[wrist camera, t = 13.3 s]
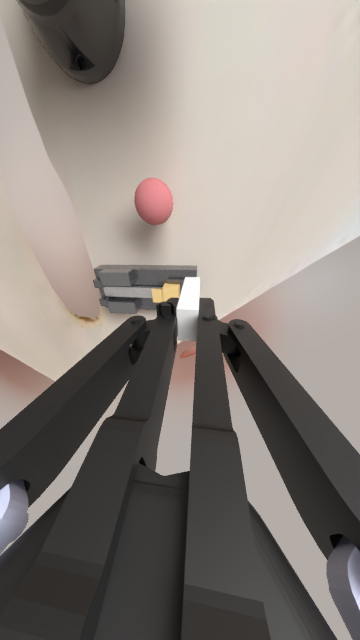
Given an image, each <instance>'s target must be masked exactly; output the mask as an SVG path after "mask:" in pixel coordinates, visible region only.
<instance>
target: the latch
mask: <svg viewBox="0 0 360 640" xmlns="http://www.w3.org/2000/svg"><path fill="white" fill-rule="evenodd" d="M152 297H153V302H156V303H160V302H165V301H167V300H168V299H169V298H180V283H165V284H164V286H163V288H162V289H152Z"/></svg>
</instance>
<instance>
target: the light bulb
mask: <svg viewBox="0 0 360 640" xmlns="http://www.w3.org/2000/svg"><path fill="white" fill-rule="evenodd" d="M135 206H136V209H137V212H138V214H139V215H140V217H141V218H142V219H143V220H144V221H146V222H147V223H149V224H152V225H159V224H162V223H164V222H165V221H166V220H167V219H168V218H169V217H170V215H171V212H172V209H173V198H172V195H171V192H170V190H169V188H168V187H167V185H166V184H165V183H164V182H162V181H161V180H159V179H156V178H148V179H145V180H143V181H142V182H141V183H140V184H139V185H138V187H137V189H136V192H135Z"/></svg>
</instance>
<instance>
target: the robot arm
mask: <svg viewBox="0 0 360 640" xmlns="http://www.w3.org/2000/svg"><path fill="white" fill-rule="evenodd" d="M17 2H18V3H19V5H20V7H21V9H22V11H23V12H24V14H25V16H26V18H27V20H28V21H29V23H30V25H31V27H32V29H33V30H34V32H35V34H36V36H37V37H38V39H39V41H40V42H41V44H42V45H43V47H44V48H45V50H46V51H47V52H48V54H49V55H50V56H51V57H52V58H53V60H54V61H55V62H56V63H57V64H58V65H59V66H60V67H61V68H62V69H63V70H64V71H65V72H66V73H67V74H68V75H70V76H71V77H72V78H74V79H76V80H78V81H80V82H83V83H95V82H98V81H100V80H102V79H103V78H105V77H106V76H107V75H108V74H109V73H110V71H111V70H112V69H113V67H114V65H115V63H116V61H117V59H118V56H119V53H120V50H121V46H122V41H123V35H124V25H125V2H124V0H17ZM199 293H200V277H185V280H184V283H183V287H182V291H181V294H180V298H169V299H168V300H167V301H165V302H160V303H158V304H157V305H156V309H157V318H156V319H154V320H148V321H146V318H145V317H143V316H133V317H130V318H129V319H127V320H126V321H125V322H124V323H123V324H122V325H120V326H119V327H118V328H117V329H116V330H115V331H113V332H112V333H111V334H110V335H109V336H108V337H107V338H105V339H104V340H103V341H102V342H101V343H100V344H98V345H97V346H96V347H95V348H94V349H93V350H92V351H90V352H89V353H88V354H87V355H86V356H85V357H83V358H82V359H81V360H80V361H79V362H78V363H76V364H75V365H74V366H73V367H72V368H71V369H70V370H68V371H67V372H66V373H65V374H64V375H63V376H61V377H60V378H59V379H58V380H57V381H56V382H55V383H53V384H52V385H51V386H50V387H49V388H48V389H46V390H45V391H44V392H43V393H42V394H41V395H40V396H38V397H37V398H36V399H35V400H34V401H33V402H32V403H30V404H29V405H28V406H27V407H26V408H24V409H23V410H22V411H21V412H20V413H19V414H18V415H16V416H15V417H14V418H13V419H12V420H11V421H9V422H8V423H7V424H6V425H5V426H4V427H3V428H1V429H0V554H1V553H2V551H3V550H4V549H5V547H6V546H7V545H8V544H9V543H10V542H12V541H14V540H15V539H16V538H17V537H18V536H19V535H20V534H21V533H22V532H23V530H24V528H25V527H26V525H27V522H28V513H27V510H28V507H29V506H30V505H32V503H34V502H35V501H36V499H37V498H39V497H40V495H41V494H42V493H43V492H44V491H45V490H46V488H48V486H49V485H50V484H51V483H52V482H53V481H54V480H55V478H56V477H57V476H58V475H59V473H60V472H61V471H62V470H63V468H64V467H65V466H66V464H67V463H68V462H69V460H70V459H71V458H72V456H73V455H74V454H75V452H76V451H77V449H78V448H79V447H80V445H81V444H82V443H83V441H84V440H85V438H86V437H87V436H88V434H89V433H90V432H91V430H92V429H93V428H94V426H95V425H96V424H97V422H98V421H99V419H100V418H101V417H102V415H103V414H104V413H105V411H106V410H107V408H108V407H109V406H110V404H111V403H112V402H113V400H114V399H115V398H116V396H117V395H118V393H119V392H120V391H121V389H122V388H123V387H124V385H125V384H126V383H127V381H128V380H129V382H128V384H127V386H126V388H125V391H124V393H123V395H122V397H121V400H120V402H119V405H118V406H117V409H116V411H115V413H114V414H113V415H112V416H110V417H108V418H106V419H105V420H104V422H103V423H102V425H101V426H100V428H99V430H98V433H97V434H96V437H95V439H94V441H93V443H92V445H91V447H90V449H89V451H88V453H87V456H86V457H85V460H84V462H83V464H82V466H81V468H80V470H79V472H78V474H77V477H76V479H75V480H74V483H73V485H72V487H71V488H70V489H69V490H68V491H67V492H66V493H65V494H64V495H63V496H62V497H61V498H60V499H58V500H57V501H56V502H55V503H54V504H53V505H52V506H51V507H50V508H49V509H48V510H47V511H46V512H45V513H44V514H43V515H42V516H41V517H40V518H39V519H38V520H37V521H36V522H35V523H34V524H33V525H32V526H31V527H30V528H29V529H27V530H26V531H25V532H24V533H23V534H22V535H21V536H20V537H19V538H18V539H17V540H16V541H15V542H14V543H13V544H12V545H11V546H10V547H9V548H8V549H7V550H6V551H5V552H4V553H3V554H2V555H1V556H0V640H337V638H336V637H335V635H334V634H333V632H332V631H331V629H330V627H329V625H328V624H327V622H326V621H325V619H324V618H323V616H322V614H321V613H320V611H319V609H318V608H317V606H316V605H315V603H314V601H313V600H312V598H311V597H310V595H309V593H308V592H307V590H306V589H305V587H304V585H303V584H302V582H301V581H300V579H299V577H298V576H297V574H296V573H295V571H294V569H293V568H292V566H291V565H290V563H289V561H288V560H287V558H286V557H285V555H284V553H283V552H282V550H281V548H280V547H279V545H278V544H277V542H276V540H275V539H274V537H273V536H272V534H271V532H270V531H269V529H268V528H267V526H266V524H265V523H264V521H263V520H262V518H261V517H260V515H259V514H258V513H257V511H256V510H255V509H254V507H253V506H252V505H251V504H250V503H249V501H248V500H247V494H246V487H245V481H244V474H243V468H242V461H241V455H240V449H239V443H238V438H237V435H236V433H235V431H234V430H233V428H232V423H231V415H230V407H229V400H228V393H227V385H226V378H225V371H224V364H223V356H222V353H223V354H224V357H225V359H226V361H227V363H228V365H229V367H230V369H231V372H232V374H233V376H234V378H235V380H236V382H237V384H238V386H239V389H240V391H241V393H242V395H243V397H244V399H245V401H246V403H247V405H248V408H249V410H250V412H251V414H252V416H253V418H254V420H255V422H256V424H257V426H258V429H259V430H260V433H261V435H262V437H263V439H264V441H265V443H266V445H267V448H268V450H269V452H270V454H271V456H272V458H273V460H274V462H275V464H276V466H277V469H278V471H279V473H280V475H281V477H282V479H283V481H284V483H285V485H286V488H287V490H288V492H289V494H290V496H291V498H292V500H293V502H294V504H295V506H296V508H297V510H298V512H299V513H300V515H301V517H302V519H303V521H304V523H305V525H306V527H307V528H308V530H309V531H310V533H311V535H312V537H313V538H314V540H315V542H316V543H317V545H318V547H319V548H320V550H321V551H322V553H323V554H324V556H325V557H326V559H327V560H328V561H327V579H328V583H329V591H330V593H331V596H332V598H333V601H334V603H335V605H336V607H337V609H338V611H339V613H340V615H341V616H342V619H343V621H344V623H345V625H346V627H347V629H348V631H349V633H350V635H351V637H352V639H353V640H360V454H359V453H358V452H357V451H356V450H355V448H354V447H353V446H352V445H351V444H350V443H349V441H348V440H347V439H346V438H345V437H344V436H343V434H342V433H341V432H340V431H339V430H338V428H337V427H336V426H335V425H334V424H333V422H332V421H331V420H330V419H329V418H328V417H327V415H326V414H325V413H324V412H323V411H322V409H321V408H320V407H319V406H318V405H317V404H316V402H315V401H314V400H313V399H312V398H311V396H310V395H309V394H308V393H307V392H306V391H305V390H304V388H303V387H302V386H301V385H300V384H299V382H298V381H297V380H296V379H295V378H294V376H293V375H292V374H291V373H290V372H289V370H288V369H287V368H286V367H285V366H284V365H283V363H282V362H281V361H280V360H279V359H278V357H277V356H276V355H275V354H274V353H273V352H272V350H271V349H270V348H269V347H268V346H267V344H266V343H265V342H264V341H263V340H262V339H261V337H260V336H259V335H258V334H257V333H256V331H255V330H254V329H253V328H252V327H251V325H250V324H248V323H247V322H246V321H243V320H239V319H235V320H231V321H230V322H229V324H227V323H223V322H221V321H219V320H218V319H217V316H215V308H214V301H213V300H212V299H211V298H199ZM177 336H178V340H183V341H197V343H196V364H195V383H194V402H193V403H194V404H193V422H192V440H191V459H190V471H187V472H182V473H177V474H172V475H168V476H162V475H160V474H158V473H156V472H155V469H156V461H157V447H158V441H159V436H160V431H161V426H162V421H163V416H164V410H165V405H166V400H167V395H168V389H169V384H170V379H171V373H172V368H173V363H174V358H175V353H176V347H177ZM131 344H132V345H131ZM130 345H131V346H130ZM129 378H130V379H129Z"/></svg>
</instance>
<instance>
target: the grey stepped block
mask: <svg viewBox="0 0 360 640" xmlns="http://www.w3.org/2000/svg"><path fill="white" fill-rule="evenodd" d="M94 271H95V275H96V279H95V280H93V283H94V286H95V288H100V290H101V293H102V298H101V299H99V301H100V304H101V306H106V307H107V308H109V310H110V313H128V314H137V312H138V311H139V309H156V305H157V304H158V303H156V302H153V298H136V297H110V296H106V295H105V292H104V289H103V288H104V287H105V286H149V287H163V286H164V284H165V283H180V294H181V291H182V287H183V283H184V280H185V277H197V266H160V265H100V266H99V267H97V268H95V269H94Z"/></svg>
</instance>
